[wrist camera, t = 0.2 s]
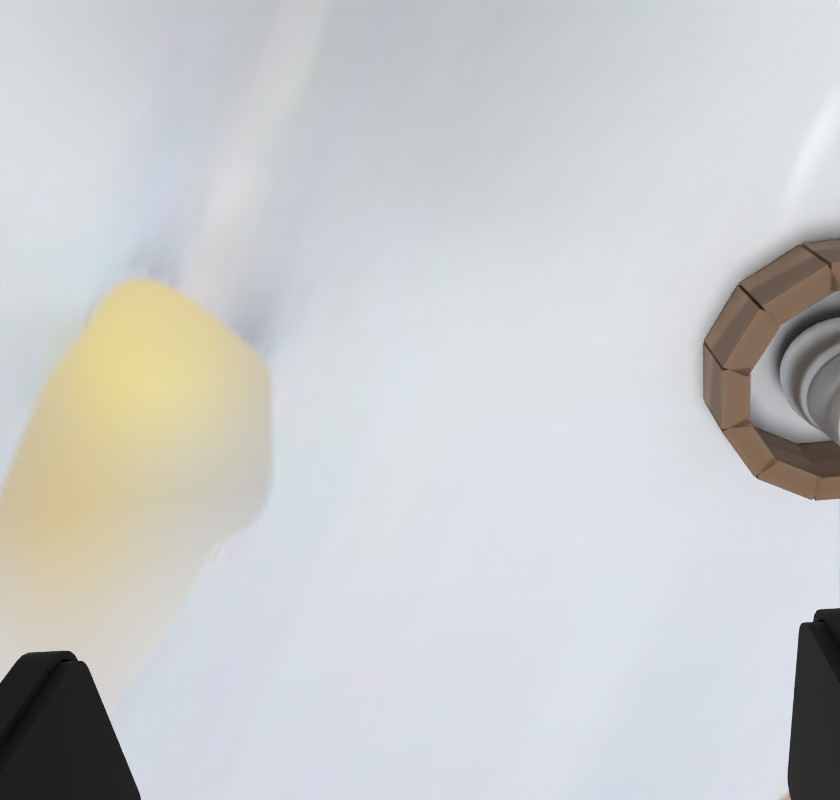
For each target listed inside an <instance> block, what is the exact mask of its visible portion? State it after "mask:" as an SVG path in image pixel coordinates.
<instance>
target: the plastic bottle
mask: <svg viewBox="0 0 840 800" xmlns="http://www.w3.org/2000/svg"><path fill="white" fill-rule="evenodd" d="M780 382H781V385H782V388H783V391H784V393H785V396H786V398H787V401H788V403H789V404H790V406H791V407H792V409H793V410H794V411H795V412H796V413H797V414H798V415H799V416H800V417H802V418H803V419H804V420H805V421H807V422H808V423H809V424H811V425H812V426H814V427H815V428H817V429H819V430H820V431H822V432H824V433H825V434H826V435H828V436H829V437H830V438H831V439H832V440H833V441H834V442H835V443H836V444H838V445H839V446H840V317H837V318H832V319H828V320H825V321H822V322H819V323H817V324H815V325H813V326H811V327H809V328H808V329H806V330H805V331H804V332H802V333H801V334H800V335H798V336H797V338H796V339H795V340H794V341H793V342H792V343H791V344H790V346H789V347H788V349H787V350H786V352H785V354H784V356H783V359H782V361H781V366H780Z"/></svg>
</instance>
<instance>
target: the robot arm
mask: <svg viewBox="0 0 840 800" xmlns="http://www.w3.org/2000/svg"><path fill="white" fill-rule="evenodd" d="M788 787H789V793H790V797H791V800H840V608H837V609H820V610H817V611H816V613H815V615H814V620H813V622H806V623H802V624H801V625H800V629H799V638H798V650H797V663H796V676H795V688H794V701H793V713H792V726H791V738H790V751H789V764H788ZM0 800H141V797H140V794H139V791H138V788H137V786H136V784H135V781H134V779H133V776H132V774H131V771H130V769H129V766H128V764H127V761H126V759H125V757H124V754H123V752H122V749H121V747H120V744H119V742H118V739H117V737H116V735H115V732H114V730H113V727H112V725H111V722H110V720H109V717H108V715H107V712H106V710H105V708H104V705H103V703H102V700H101V698H100V695H99V693H98V691H97V688H96V686H95V683H94V681H93V678H92V676H91V673H90V671H89V668H88V667H87V665H86V664H85V663H84V662H83V661H78V660H77V658H76V656H75V655H74V654H73V653H71V652H70V651H52V652H33V653H27V654H25V655H22V656H21V658H20V659H18V661H17V662H16V663H15V664H14V666H13V667H12V668H11V670H10V671H9V672H8V674H7V675H6V676H5V678H4V679H3V680H2V682H1V683H0Z"/></svg>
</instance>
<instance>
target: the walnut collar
mask: <svg viewBox="0 0 840 800" xmlns="http://www.w3.org/2000/svg"><path fill="white" fill-rule="evenodd" d="M740 284H741V286H742V287H743V288H741V287H739V286H737V287H736V288H735V290H734V292H733V293H732V295H731V297H730V298H729V300H728V302H727V304H726V305H725V307H724V309H723V310H722V312H721V314H720V315H719V317H718V319H717V320H716V322H715V324H714V325H713V327H712V329H711V330H710V332H709V334H708V335H707V337H706V339H705V340H704V341H705V342H706V343H704V344H703V385H704V400H705V403H706V405H707V407H708V408H709V410H710V412H711V414H712V415H713V417H714V419H715V420H716V422H717V424H718V426H719V427H720V429H721V431H722V432H723V434H724V435H725V437H726V438H727V439H728V441H729V442H730V444H731V445H732V446H733V448H734V449H735V451H736V452H737V453H738V455H739V456H740V457H741V459H742V460H743V462H744V463H745V464H746V466H747V467H748V469H749V470H750V471H751V473H752V474H753V476H756V478H757V479H759V480H762V481H764V482H767V483H770V484H772V485H775V486H777V487H780V488H782V489H785V490H787V491H790V492H793V493H795V494H798V495H800V496H803V497H805V498H808V499H810V500H812V499H813V498H814V499H815V501H816V500H828V499H840V446H839V445H838V444H836V443H835V442H834V441H827V442H816V443H805V444H796V443H793V442H791V441H788V440H785V439H783V438H780V437H778V436H775V435H773V434H770V433H768V432H765V431H763V430H760V429H758V428H755V427H754V426H753V425H752V423H751V422H750V420H749V415H750V376H751V371H752V370H753V368H754V367H755V365H756V363H757V362H758V360H759V359H760V357H761V356H762V354H763V353H764V351H765V349H766V348H767V346H768V345H769V343H770V342H771V340H772V338H773V337H774V335H775V334H776V332H777V331H778V329H779V328H780V326H781V324H783V323H785V322H786V321H788V320H789V319H791V318H793V317H794V316H796V315H798V314H799V313H801V312H802V311H804V310H806V309H807V308H809V307H811V306H812V305H814V304H815V303H817V302H819V301H820V300H822V299H824V298H825V297H827V296H828V295H830V294H832V293H833V292H835V291H839V290H840V239H833V240H825V241H817V242H809V243H803V247H802V246H800V245H798V246H796V247H795V248H793V249H792V250H790V251H789V252H787V253H786V254H784V255H782V256H781V257H779V258H778V259H776V260H775V261H773V262H772V263H770V264H769V265H767V266H765V267H764V268H762V269H761V270H759V271H758V272H756V273H755V274H753V275H751V276H750V277H748V278H747V279H745V280H744V281H742V282H741V283H740Z"/></svg>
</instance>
